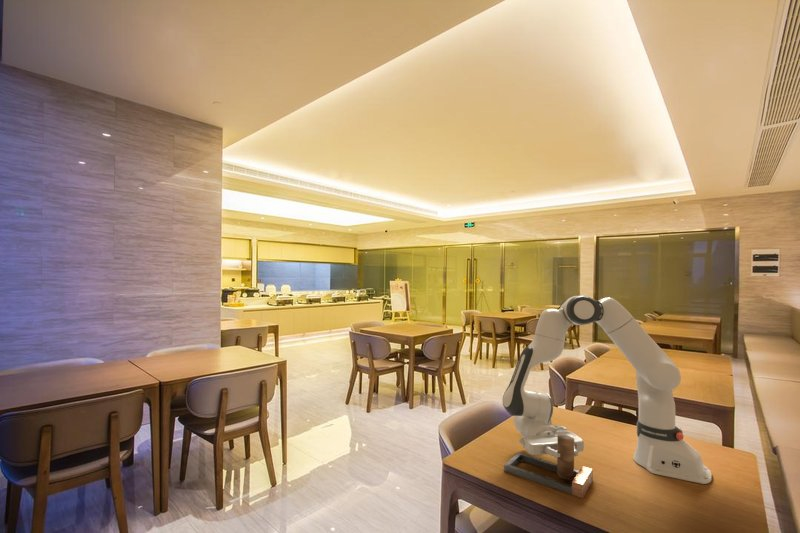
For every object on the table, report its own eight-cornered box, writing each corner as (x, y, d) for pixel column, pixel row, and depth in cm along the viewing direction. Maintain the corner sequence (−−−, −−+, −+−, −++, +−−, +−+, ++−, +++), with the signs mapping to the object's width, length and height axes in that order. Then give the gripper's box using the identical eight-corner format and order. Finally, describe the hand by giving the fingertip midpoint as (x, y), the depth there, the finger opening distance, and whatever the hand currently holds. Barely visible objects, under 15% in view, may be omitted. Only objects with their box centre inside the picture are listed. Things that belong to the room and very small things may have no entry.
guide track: (592, 481, 126) (592, 468, 126) (582, 498, 116) (582, 484, 116) (518, 457, 142) (518, 446, 142) (504, 471, 132) (504, 459, 132)
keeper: (575, 474, 126) (576, 437, 126) (571, 481, 122) (571, 442, 122) (559, 469, 129) (560, 433, 129) (555, 475, 125) (555, 438, 125)
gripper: (516, 429, 136) (538, 447, 123) (568, 426, 140) (594, 442, 127) (516, 447, 136) (537, 467, 123) (568, 443, 140) (594, 462, 127)
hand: (567, 454), depth 125 cm, fingers closed on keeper, 5 cm apart
